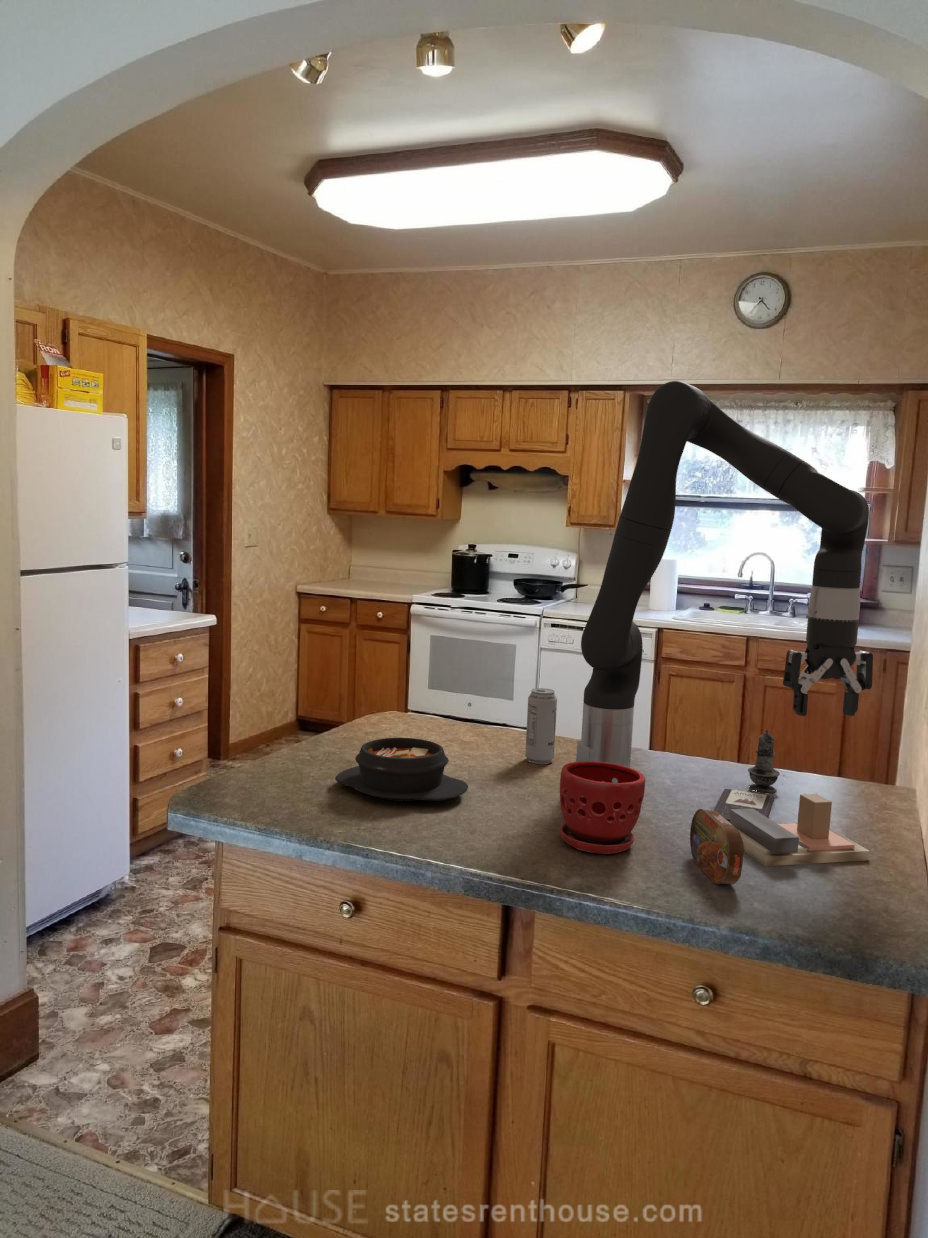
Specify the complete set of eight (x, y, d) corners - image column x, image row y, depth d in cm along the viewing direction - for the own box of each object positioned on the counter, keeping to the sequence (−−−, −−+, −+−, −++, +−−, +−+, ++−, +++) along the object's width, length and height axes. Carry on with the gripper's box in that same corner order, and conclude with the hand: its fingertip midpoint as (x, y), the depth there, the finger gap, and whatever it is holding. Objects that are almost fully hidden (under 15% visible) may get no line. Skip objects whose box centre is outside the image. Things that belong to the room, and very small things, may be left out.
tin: (686, 853, 138) (690, 800, 137) (706, 853, 139) (710, 801, 138) (722, 894, 124) (727, 836, 123) (744, 894, 124) (749, 836, 123)
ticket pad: (766, 867, 134) (769, 838, 133) (723, 836, 146) (725, 809, 146) (870, 861, 138) (873, 833, 137) (819, 831, 150) (821, 805, 150)
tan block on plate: (808, 851, 137) (812, 809, 136) (772, 828, 146) (775, 789, 146) (854, 848, 139) (858, 807, 138) (815, 826, 148) (818, 787, 147)
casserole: (314, 795, 159) (315, 749, 158) (366, 769, 176) (368, 727, 175) (441, 819, 149) (443, 770, 148) (483, 789, 166) (485, 745, 165)
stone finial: (774, 785, 175) (779, 726, 174) (781, 795, 170) (787, 733, 168) (743, 783, 176) (748, 724, 174) (750, 793, 170) (755, 731, 169)
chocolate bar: (710, 816, 154) (724, 788, 171) (709, 821, 154) (724, 793, 171) (764, 825, 151) (774, 796, 167) (764, 831, 151) (773, 801, 167)
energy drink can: (555, 765, 183) (558, 694, 181) (525, 764, 183) (529, 693, 182) (552, 757, 189) (556, 688, 187) (524, 756, 189) (527, 687, 187)
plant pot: (621, 867, 132) (627, 788, 130) (542, 846, 139) (546, 772, 137) (652, 841, 143) (657, 768, 141) (578, 823, 150) (582, 754, 148)
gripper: (805, 617, 137) (797, 720, 139) (888, 618, 139) (879, 720, 141) (779, 611, 144) (772, 710, 146) (859, 613, 147) (850, 709, 148)
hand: (824, 715), depth 143 cm, fingers open, 8 cm apart
